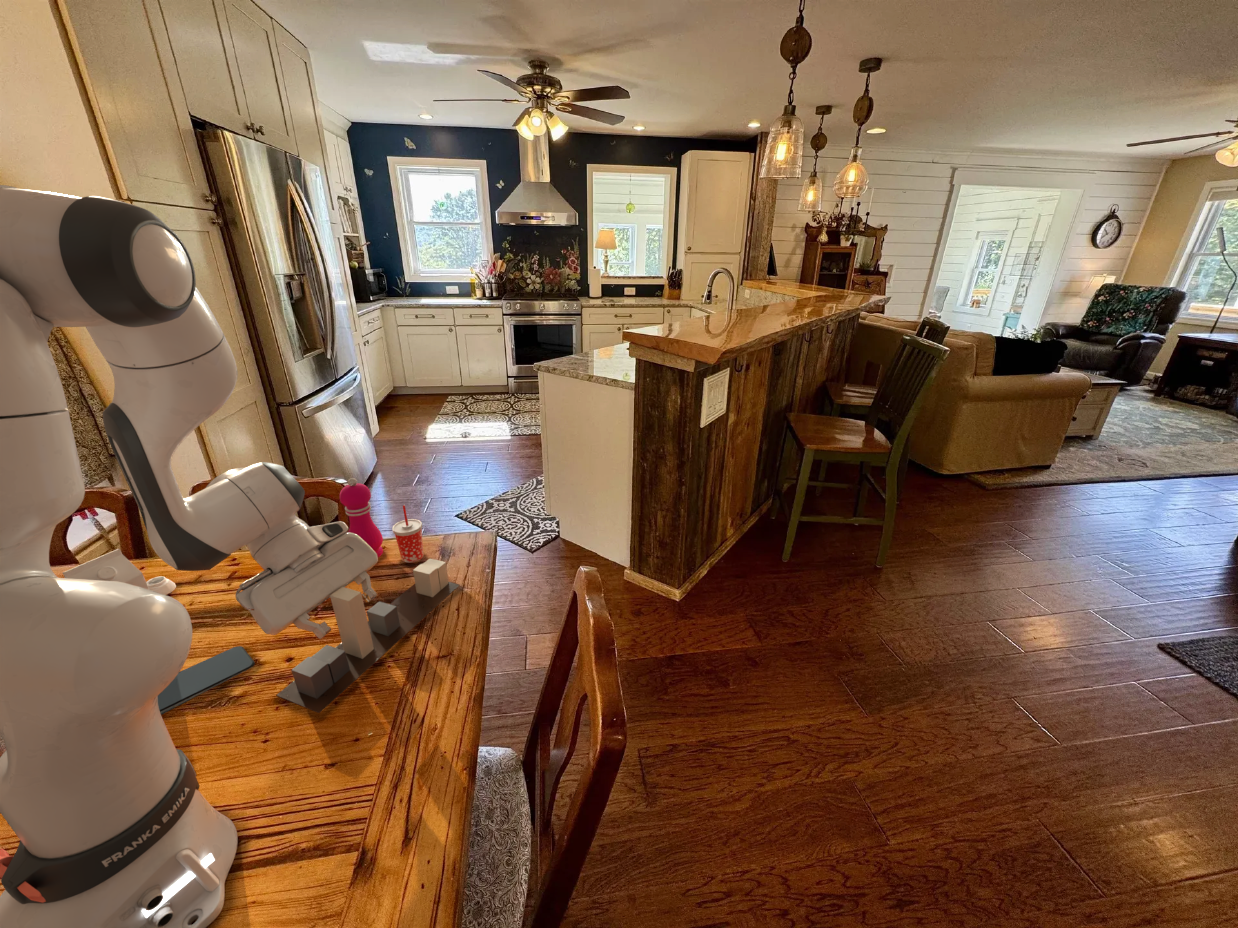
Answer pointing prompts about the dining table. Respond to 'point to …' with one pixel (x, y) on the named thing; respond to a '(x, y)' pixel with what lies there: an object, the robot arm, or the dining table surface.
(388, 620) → the dark grey block row
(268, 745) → the dining table surface
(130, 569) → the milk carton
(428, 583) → the cream white block
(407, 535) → the beverage cup
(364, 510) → the pepper mill
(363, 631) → the tall white block
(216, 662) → the smartphone
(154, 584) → the lidless jar
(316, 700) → the shelf plank
